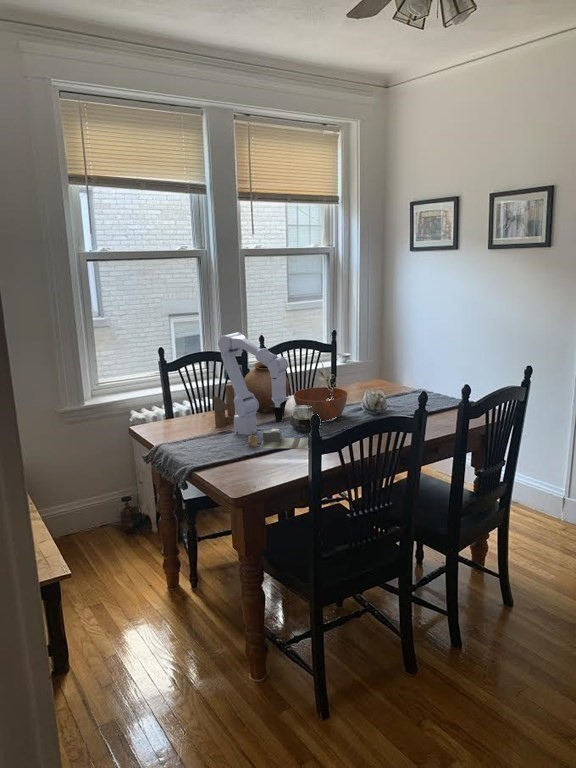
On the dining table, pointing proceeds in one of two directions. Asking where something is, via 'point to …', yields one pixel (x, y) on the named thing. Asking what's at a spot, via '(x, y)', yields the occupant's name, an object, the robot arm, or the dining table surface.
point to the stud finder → (272, 435)
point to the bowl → (322, 401)
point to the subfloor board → (287, 443)
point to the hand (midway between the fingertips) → (280, 419)
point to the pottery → (262, 387)
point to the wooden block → (225, 408)
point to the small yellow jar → (252, 440)
